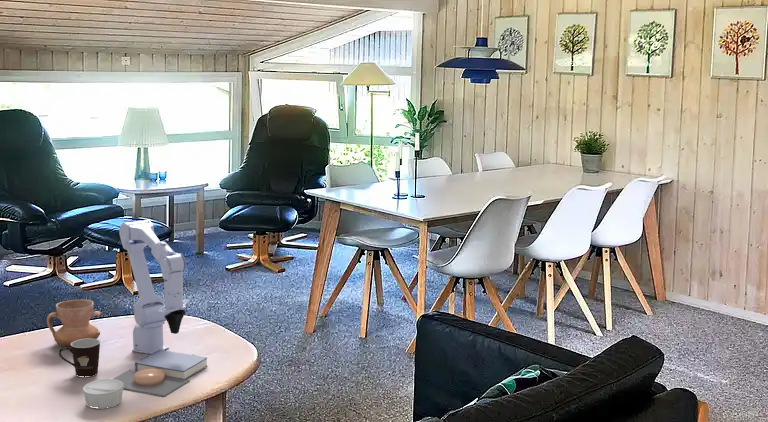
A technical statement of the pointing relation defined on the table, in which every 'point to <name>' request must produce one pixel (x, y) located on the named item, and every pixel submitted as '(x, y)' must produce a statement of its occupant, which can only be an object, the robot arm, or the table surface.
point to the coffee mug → (84, 356)
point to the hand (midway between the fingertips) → (174, 332)
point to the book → (173, 363)
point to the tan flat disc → (149, 377)
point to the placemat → (159, 389)
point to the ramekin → (103, 393)
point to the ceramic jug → (74, 321)
